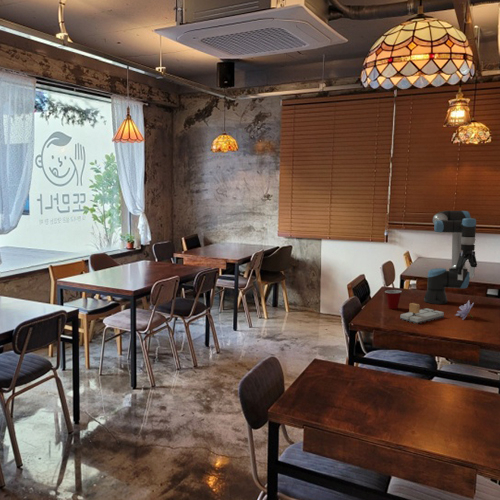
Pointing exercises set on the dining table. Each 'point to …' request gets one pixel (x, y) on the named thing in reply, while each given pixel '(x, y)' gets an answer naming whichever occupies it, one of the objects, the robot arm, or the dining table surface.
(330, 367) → the dining table surface
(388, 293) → the plastic cup
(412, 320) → the fader console
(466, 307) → the water lily
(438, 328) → the dining table surface
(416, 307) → the fader knob
